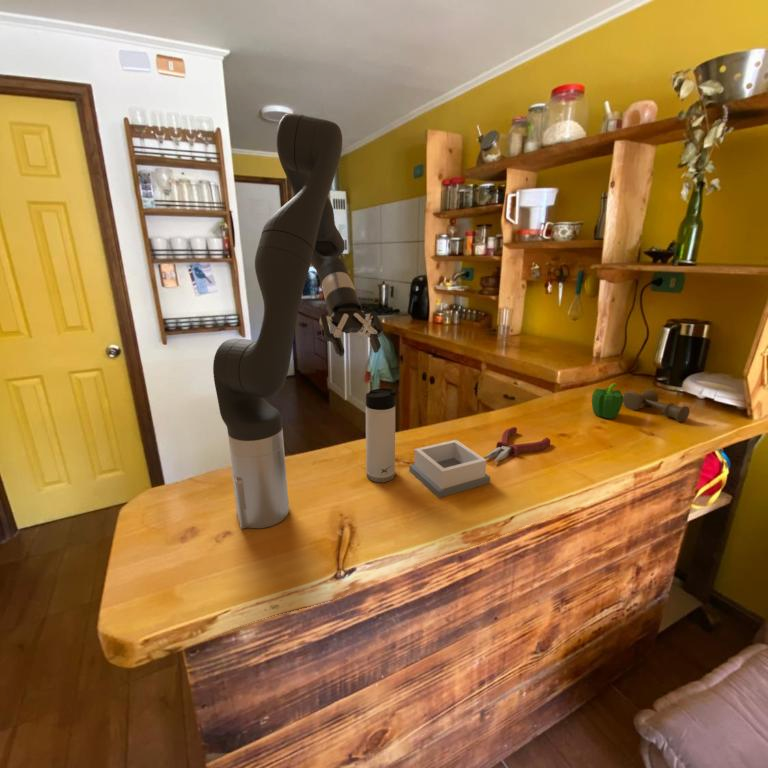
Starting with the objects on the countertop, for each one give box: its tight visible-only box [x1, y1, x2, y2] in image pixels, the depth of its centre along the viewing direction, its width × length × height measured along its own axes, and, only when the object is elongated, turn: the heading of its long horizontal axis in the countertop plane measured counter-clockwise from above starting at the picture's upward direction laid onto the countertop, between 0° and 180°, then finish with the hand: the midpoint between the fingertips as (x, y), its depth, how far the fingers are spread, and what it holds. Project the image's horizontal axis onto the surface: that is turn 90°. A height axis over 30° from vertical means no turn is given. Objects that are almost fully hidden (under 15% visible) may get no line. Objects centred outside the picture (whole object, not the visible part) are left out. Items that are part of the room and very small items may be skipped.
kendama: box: [622, 389, 690, 423], centre depth 128 cm, size 6×10×20 cm
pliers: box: [483, 426, 551, 464], centre depth 104 cm, size 12×20×3 cm, turn 133°
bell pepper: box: [591, 382, 624, 420], centre depth 124 cm, size 8×8×10 cm
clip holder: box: [408, 439, 491, 499], centre depth 90 cm, size 13×12×6 cm
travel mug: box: [365, 387, 398, 483], centre depth 89 cm, size 6×7×20 cm
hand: (360, 352), depth 93 cm, fingers open, 8 cm apart
